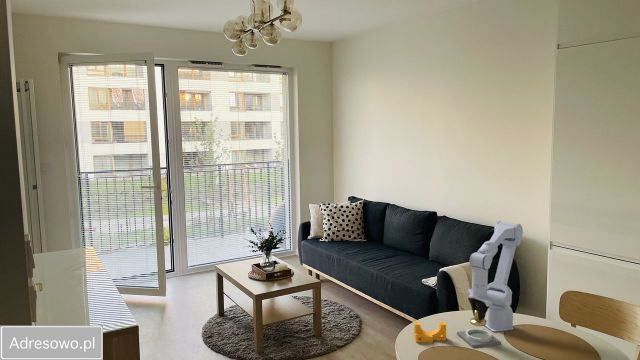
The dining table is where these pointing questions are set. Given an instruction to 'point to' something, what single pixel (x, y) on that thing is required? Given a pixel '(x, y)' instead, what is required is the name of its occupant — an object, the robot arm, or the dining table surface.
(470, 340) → the carrier plate
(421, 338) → the pipe clamp
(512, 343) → the dining table surface
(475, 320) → the brass cabinet knob
